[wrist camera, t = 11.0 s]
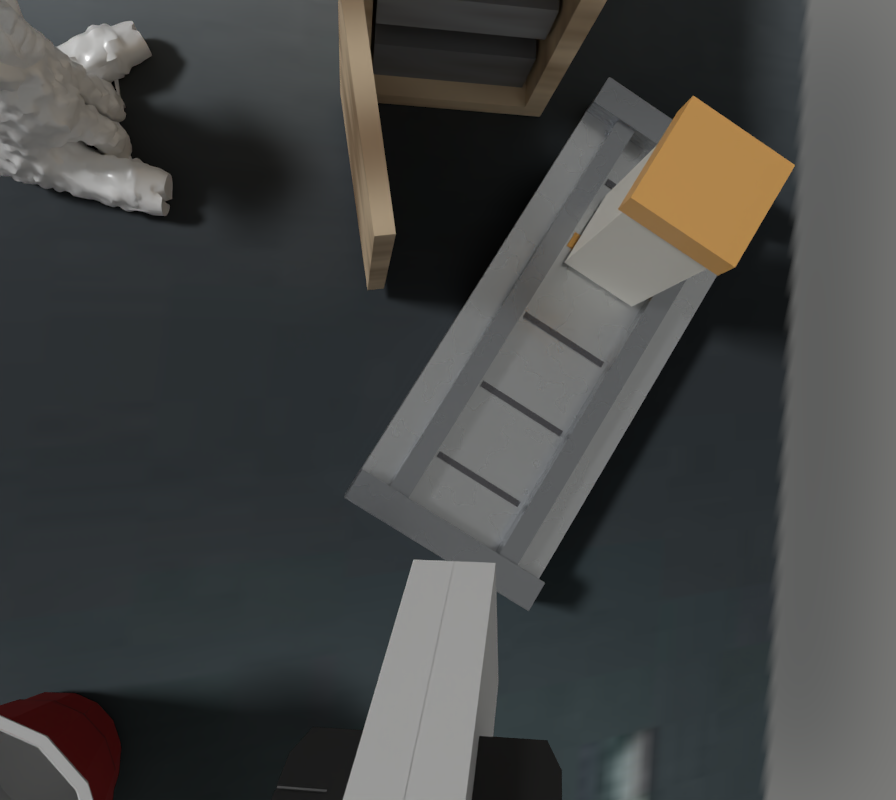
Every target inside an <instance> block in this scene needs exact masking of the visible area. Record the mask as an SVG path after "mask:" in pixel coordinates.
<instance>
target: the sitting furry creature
mask: <svg viewBox="0 0 896 800" xmlns="http://www.w3.org/2000/svg"><path fill="white" fill-rule="evenodd" d="M151 56H152V54H151V51H150V49H149V47H148V46H147V44H146V42H145V40H144V39H143V37H142V35H141V34H140V32H139V31H137V30H136V28H135V26H134V23H133V22H132V21H126V22H121V23H119V24H116V25H113V26H109V25H108V24H101V25H99V26H98V25H91V26H90V27H88V28H87V30H86V31H85V32H84V33H82V34H79V35H76V36H74V37H73V38H71V39H69V41H67V42H65V43H63V44H61V45H60V46H57V47H55V46H53V43H52V42H50V40H49V39H47V38H45V36H44V35H43V34H42V33H41V32H39V31H38V30H36V29H35V28H33V27H31V25H30V24H28V23H27V22H26V21H25V20H24V18H23V16H22V14H21V11H20V8H19V5H18V2H17V0H0V175H1V176H11V177H12V178H13V179H14V180H15V181H18V182H23V183H25V184H27V183H29V184H38V185H39V186H40V187H42V188H44V189H50V188H54V190H55V191H57V192H63V191H67V192H70V193H71V194H72V195H73V196H75V197H80V198H85V199H94V200H97V201H100V202H101V203H102V204H105V205H107V206H111V207H117V206H119V207H121V208H122V209H124V210H125V211H128V212H132V211H135V210H136V211H142V212H145V213H148V214H150V215H157V216H166V215H167V214H168V212H169V209H170V205H169V204H167V203H166V202H165V201H168V200H171V199H172V190H173V181H172V176H171V174H169V173H168V172H166V171H164V170H162V169H161V168H158V167H154V166H150V165H149V164H146V163H143V162H142V161H141V160H140V159H139V158H134V159H132V157H131V153H132V145H131V143H130V137H129V135H128V134H127V132H126V130H125V129H124V128H123V127H122V126H121V125H120V124H119V122H122V121H123V120H124V119H125V118H126V113H125V112H124V108H126V106H125V104H124V102H123V100H122V99H121V95H120V88H119V81H118V79H121V78H124V76H125V74H129V72H130V70H131V68H132V67H133V66H136V65H138V64H140V63H142V62H143V61H144V60H146V59H148V58H149V57H151ZM113 81H114V82H115V87H116V91H115V89H114V87H113V85H112V84H111V83H112V82H113ZM87 145H90V146H95V147H96V148H97V149H98V150H95V149H93V148H89V147H87Z"/></svg>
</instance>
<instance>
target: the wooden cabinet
mask: <svg viewBox="0 0 896 800" xmlns="http://www.w3.org/2000/svg"><path fill="white" fill-rule="evenodd" d="M606 1H607V0H338V11H339V57H340V94H341V101H342V108H343V115H344V123H345V130H346V137H347V144H348V152H349V159H350V166H351V173H352V181H353V188H354V195H355V202H356V210H357V217H358V224H359V231H360V239H361V246H362V253H363V260H364V268H365V275H366V282H367V289H368V290H374V289H382V288H384V285H385V281H386V276H387V272H388V267H389V263H390V258H391V254H392V249H393V245H394V240H395V236H396V231H395V224H394V216H393V209H392V202H391V195H390V188H389V181H388V174H387V166H386V159H385V152H384V145H383V138H382V131H381V123H380V116H379V109H378V103H385V104H397V105H408V106H420V107H431V108H443V109H455V110H466V111H478V112H490V113H501V114H513V115H524V116H536V117H540V116H541V114H542V112H543V111H544V109H545V107H546V105H547V104H548V102H549V100H550V98H551V97H552V95H553V93H554V91H555V90H556V88H557V86H558V85H559V83H560V81H561V79H562V78H563V76H564V74H565V72H566V71H567V69H568V67H569V66H570V64H571V62H572V60H573V59H574V57H575V55H576V53H577V52H578V50H579V48H580V46H581V45H582V43H583V41H584V40H585V38H586V36H587V34H588V33H589V31H590V29H591V27H592V26H593V24H594V22H595V21H596V19H597V17H598V15H599V14H600V12H601V10H602V8H603V7H604V5H605V3H606Z"/></svg>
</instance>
